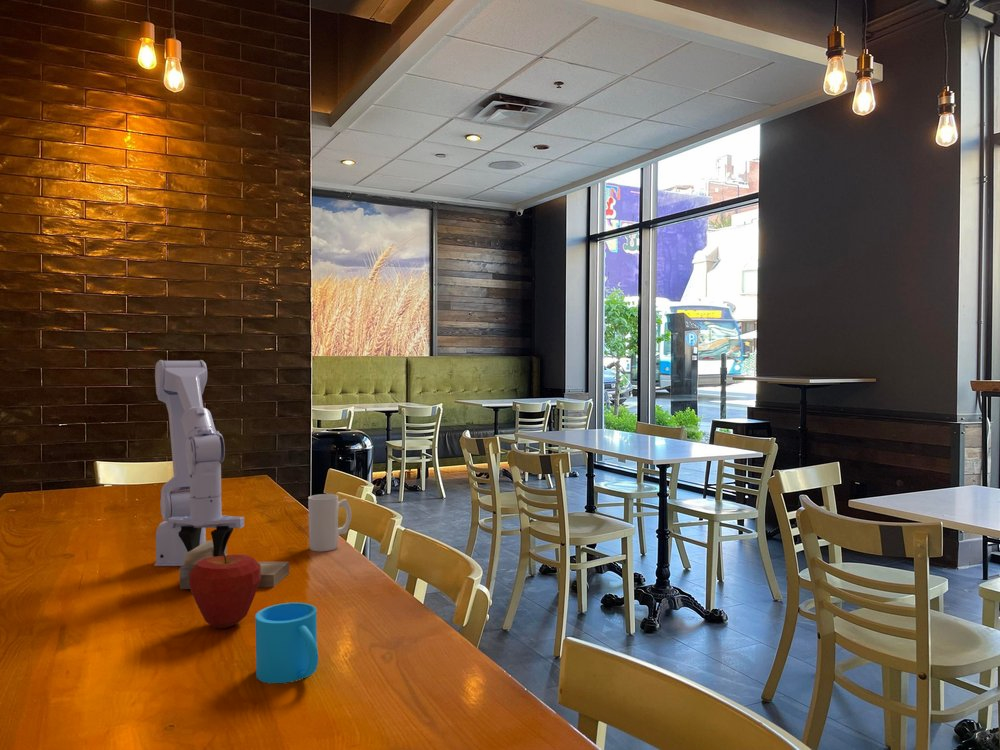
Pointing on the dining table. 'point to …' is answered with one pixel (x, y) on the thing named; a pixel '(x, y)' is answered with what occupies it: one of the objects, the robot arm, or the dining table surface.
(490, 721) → the dining table surface
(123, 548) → the dining table surface
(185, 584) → the stepped beige block
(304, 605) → the mug
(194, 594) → the apple
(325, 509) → the mug
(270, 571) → the plank
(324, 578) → the dining table surface
